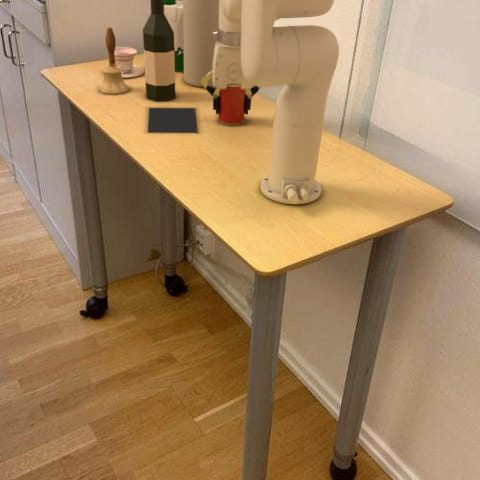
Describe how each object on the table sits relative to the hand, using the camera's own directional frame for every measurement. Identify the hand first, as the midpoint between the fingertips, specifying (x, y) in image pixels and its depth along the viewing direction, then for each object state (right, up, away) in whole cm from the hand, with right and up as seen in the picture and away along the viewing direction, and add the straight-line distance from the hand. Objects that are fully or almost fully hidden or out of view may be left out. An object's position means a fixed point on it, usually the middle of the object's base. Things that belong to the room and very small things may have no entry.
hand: (231, 112), depth 148 cm
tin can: (0, -2, +1) cm, 2 cm away
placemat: (-15, -2, 0) cm, 15 cm away
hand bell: (-33, +11, +15) cm, 38 cm away
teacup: (-33, +21, +27) cm, 47 cm away
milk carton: (-17, +24, +33) cm, 44 cm away
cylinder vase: (-8, +17, +24) cm, 31 cm away
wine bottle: (-20, +8, +13) cm, 25 cm away
